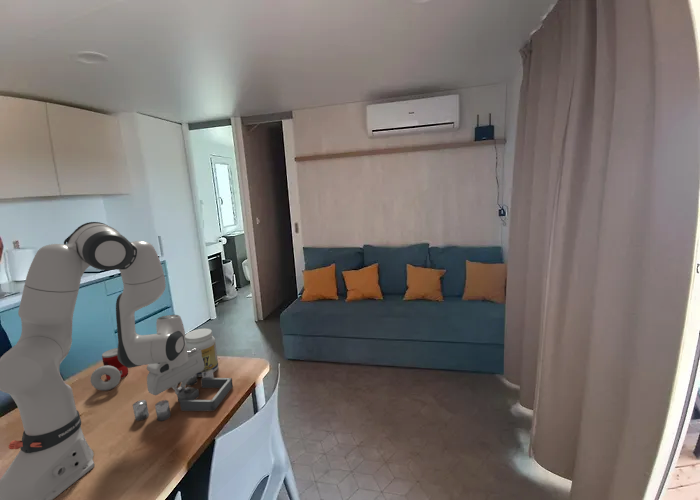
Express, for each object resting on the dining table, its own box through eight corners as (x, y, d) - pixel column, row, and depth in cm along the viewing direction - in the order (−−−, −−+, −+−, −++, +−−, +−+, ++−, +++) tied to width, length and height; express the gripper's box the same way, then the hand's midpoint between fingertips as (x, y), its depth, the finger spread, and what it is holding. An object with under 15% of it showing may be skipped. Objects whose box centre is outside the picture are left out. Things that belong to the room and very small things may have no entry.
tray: (214, 411, 120) (212, 401, 119) (181, 410, 121) (179, 401, 121) (232, 386, 135) (231, 378, 134) (203, 386, 136) (202, 378, 135)
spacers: (180, 421, 115) (178, 407, 115) (129, 420, 117) (127, 407, 116) (216, 379, 140) (214, 368, 139) (173, 379, 142) (171, 368, 141)
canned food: (132, 371, 151) (128, 347, 149) (119, 381, 143) (114, 356, 141) (116, 371, 152) (112, 347, 150) (101, 381, 144) (97, 356, 142)
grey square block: (188, 404, 125) (187, 396, 124) (178, 401, 127) (176, 393, 126) (199, 396, 129) (198, 388, 129) (189, 393, 131) (188, 386, 131)
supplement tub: (186, 381, 140) (180, 341, 137) (189, 367, 152) (183, 330, 148) (218, 374, 144) (213, 335, 141) (219, 361, 155) (214, 325, 152)
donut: (123, 384, 141) (119, 361, 139) (121, 389, 137) (116, 365, 136) (94, 390, 138) (90, 366, 136) (91, 395, 134) (86, 371, 133)
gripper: (195, 344, 137) (200, 376, 139) (141, 368, 120) (148, 405, 122) (205, 347, 133) (210, 380, 136) (152, 373, 116) (158, 410, 119)
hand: (180, 392), depth 129 cm, fingers closed
